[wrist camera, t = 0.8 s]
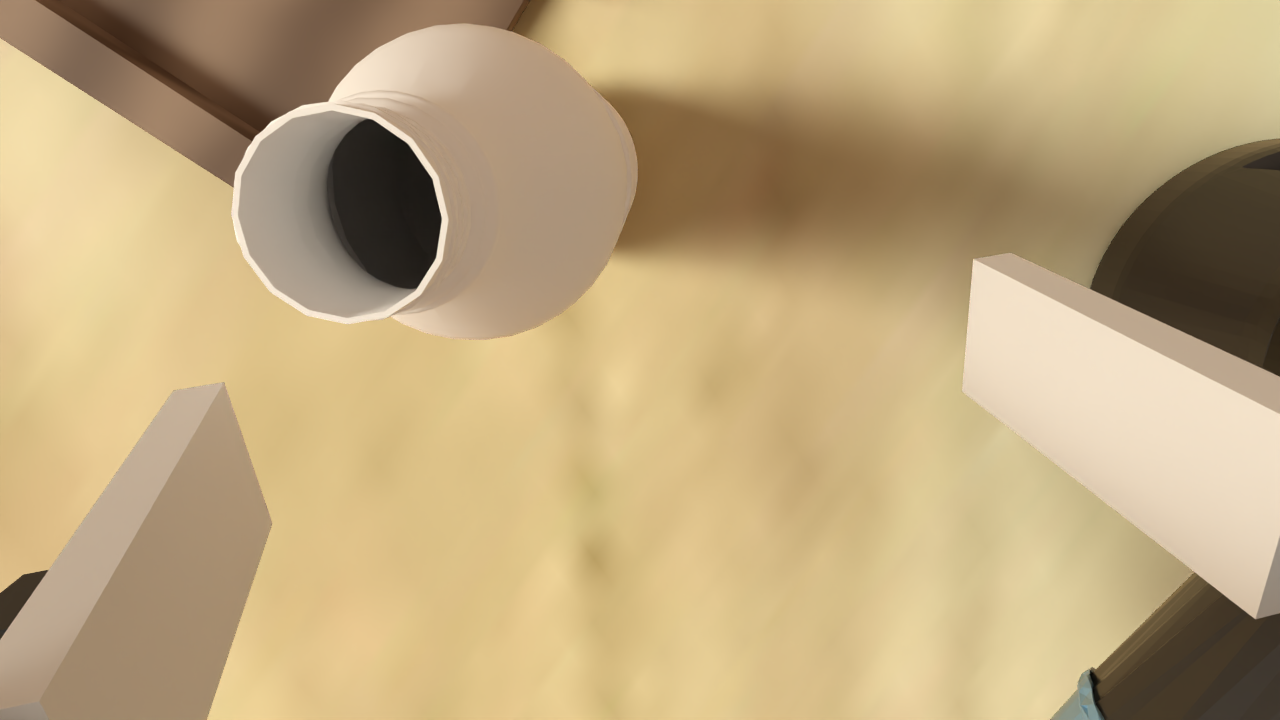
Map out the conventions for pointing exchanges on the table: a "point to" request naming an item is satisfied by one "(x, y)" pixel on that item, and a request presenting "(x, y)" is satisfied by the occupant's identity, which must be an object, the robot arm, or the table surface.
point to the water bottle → (440, 188)
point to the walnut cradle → (220, 57)
